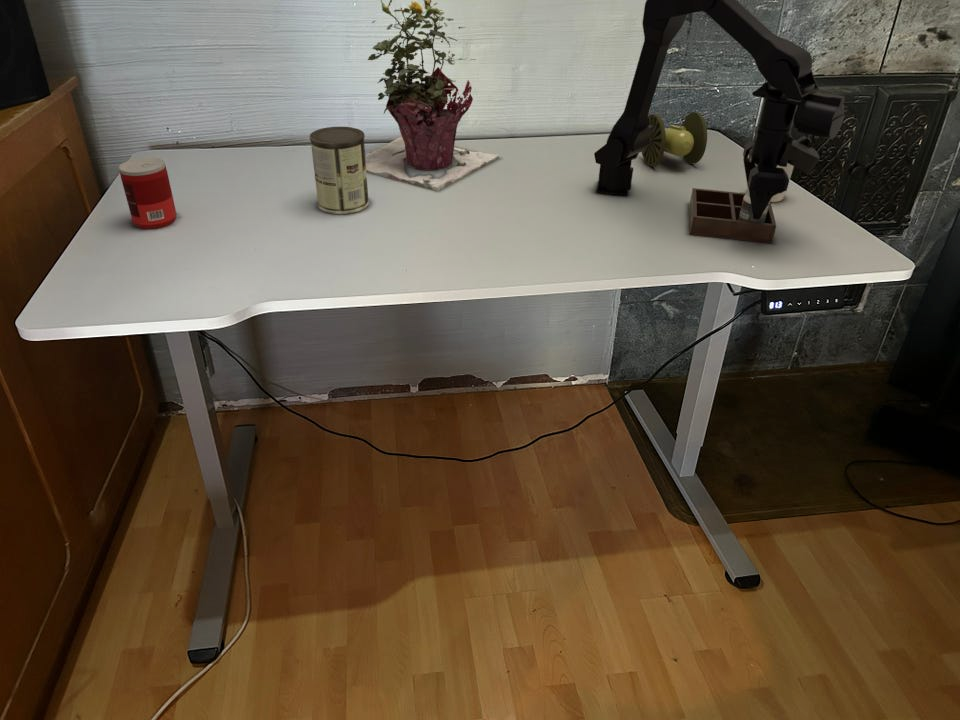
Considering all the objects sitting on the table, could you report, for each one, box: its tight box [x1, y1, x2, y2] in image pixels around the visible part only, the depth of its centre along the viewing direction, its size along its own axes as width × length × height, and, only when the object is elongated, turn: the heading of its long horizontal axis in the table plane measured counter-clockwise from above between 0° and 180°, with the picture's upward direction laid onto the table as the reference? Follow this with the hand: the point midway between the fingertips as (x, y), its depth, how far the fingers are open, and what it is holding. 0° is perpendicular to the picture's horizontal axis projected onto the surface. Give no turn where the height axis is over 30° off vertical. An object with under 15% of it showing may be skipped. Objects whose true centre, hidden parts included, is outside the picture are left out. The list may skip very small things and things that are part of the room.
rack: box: [688, 187, 777, 245], centre depth 145 cm, size 15×15×4 cm
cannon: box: [641, 111, 708, 167], centre depth 174 cm, size 25×12×11 cm, turn 13°
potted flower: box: [365, 0, 500, 192], centre depth 161 cm, size 27×25×35 cm
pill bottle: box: [738, 186, 770, 223], centre depth 139 cm, size 5×5×8 cm
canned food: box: [118, 156, 177, 230], centre depth 138 cm, size 8×8×11 cm
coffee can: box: [309, 126, 370, 215], centre depth 145 cm, size 10×10×14 cm
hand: (754, 209), depth 140 cm, fingers open, 9 cm apart
